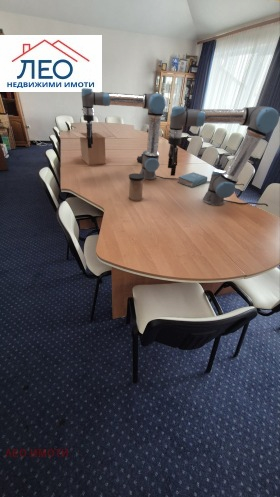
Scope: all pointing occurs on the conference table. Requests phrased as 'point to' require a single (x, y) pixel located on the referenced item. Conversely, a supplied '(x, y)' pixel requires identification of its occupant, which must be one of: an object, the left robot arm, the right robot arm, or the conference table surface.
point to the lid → (136, 177)
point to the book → (192, 179)
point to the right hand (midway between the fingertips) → (171, 171)
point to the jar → (135, 190)
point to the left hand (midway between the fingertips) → (90, 146)
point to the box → (93, 147)
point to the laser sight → (140, 158)
